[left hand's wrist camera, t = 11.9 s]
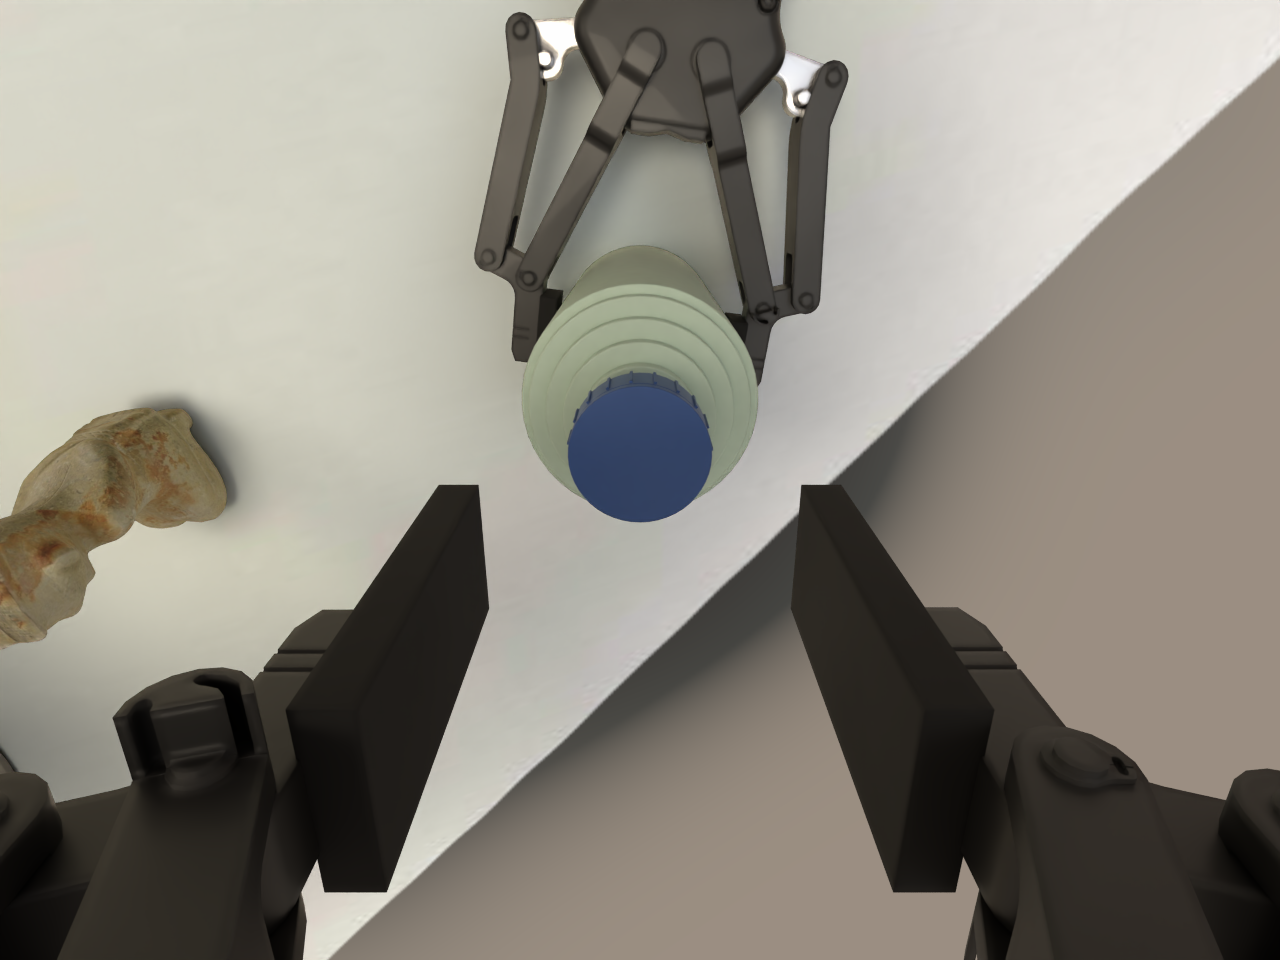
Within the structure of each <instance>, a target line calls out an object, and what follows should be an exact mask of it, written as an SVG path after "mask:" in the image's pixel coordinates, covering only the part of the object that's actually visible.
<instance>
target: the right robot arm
mask: <svg viewBox="0 0 1280 960" xmlns="http://www.w3.org/2000/svg"><path fill="white" fill-rule="evenodd" d="M780 6H781V0H584V1H583V3H582V4H581V6H580V7H579V9H578V11H577V13H576V16H575V17H572V18H557V19H542V20H533V19H532V18H531V17H530V16H529V15H527V14H526V13H521V12H518V13H515V14H513V15H512V16H510V17H509V18H508V21H507V23H506V41H507V50H508V59H509V69H510V78H511V81H510V86H509V90H508V95H507V100H506V105H505V109H504V114H503V119H502V124H501V129H500V133H499V138H498V143H497V148H496V152H495V157H494V162H493V167H492V172H491V176H490V181H489V186H488V191H487V195H486V200H485V205H484V210H483V215H482V219H481V224H480V229H479V234H478V239H477V243H476V248H475V253H474V259H475V262H476V264H477V265H478V266H479V268H480V269H482V270H484V271H490V272H492V273H494V274H496V275H498V276H500V277H502V278H504V279H505V280H507V281H508V282H509V283H510V284H511V285H512V287H513V289H514V292H515V307H514V321H513V337H512V352H513V356H514V359H515V361H521V362H528V360H529V357H530V355H531V353H532V351H533V348H534V346H535V344H536V343H537V341H538V339H539V338H540V336H541V335H542V333H543V331H544V330H545V329H546V327H547V326H548V324H549V323H550V321H551V320H552V318H553V317H554V315H555V314H556V312H557V311H558V310H559V308H560V307H561V305H562V297H563V291H561V290H554V289H547V280H548V279H549V276H550V274H551V272H552V270H553V268H554V266H555V264H556V262H557V261H558V259H559V257H560V255H561V253H562V251H563V249H564V247H565V245H566V243H567V242H568V240H569V238H570V236H571V234H572V232H573V230H574V228H575V226H576V224H577V223H578V221H579V219H580V217H581V215H582V213H583V211H584V209H585V207H586V205H587V204H588V202H589V200H590V198H591V196H592V194H593V192H594V190H595V188H596V186H597V184H598V183H599V181H600V179H601V177H602V175H603V173H604V171H605V169H606V167H607V165H608V164H609V162H610V160H611V158H612V156H613V154H614V153H615V151H616V149H617V148H618V146H619V144H620V142H621V140H622V138H623V136H624V134H625V132H626V131H630V132H631V134H636V135H643V136H654V135H661V134H669V135H671V136H673V137H675V138H678V139H680V140H682V141H684V142H691V143H698V144H702V143H703V142H706V146H707V150H708V155H709V159H710V163H711V166H712V169H713V173H714V177H715V182H716V186H717V191H718V195H719V200H720V204H721V209H722V213H723V218H724V222H725V227H726V231H727V236H728V240H729V245H730V249H731V254H732V258H733V263H734V268H735V272H736V277H737V281H738V286H739V290H740V295H741V299H742V304H743V311H742V315H740V314H733V313H725V316H726V317H727V318H728V320H729V321H730V323H731V324H732V326H733V327H734V329H735V330H736V332H737V333H738V335H739V336H740V338H741V340H742V341H743V343H744V344H745V346H746V349H747V351H748V353H749V355H750V358H751V360H752V363H753V367H754V370H755V374H756V380H757V387H758V385H759V384H760V382H761V378H762V373H763V368H764V362H765V357H766V352H767V347H768V342H769V337H770V332H771V329H772V327H773V325H774V323H775V322H776V321H777V320H779V319H780V318H783V317H786V316H790V315H795V314H800V313H802V314H809V313H812V312H813V311H814V310H816V308H817V307H818V306H819V302H820V292H821V275H822V258H823V241H824V224H825V207H826V190H827V173H828V156H829V139H830V126H831V124H832V121H833V118H834V116H835V113H836V111H837V108H838V105H839V103H840V100H841V98H842V95H843V92H844V90H845V87H846V85H847V81H848V70H847V68H846V66H845V65H844V64H843V63H842V62H840V61H836V60H833V61H829V62H827V63H826V64H821V63H819V62H816V61H814V60H811V59H808V58H806V57H803V56H801V55H798V54H796V53H793V52H790V51H788V50H786V45H785V40H784V37H783V33H782V30H781V24H780ZM574 50H580V52H581V54H582V56H583V58H584V60H585V62H586V64H587V66H588V68H589V70H590V72H591V74H592V76H593V78H594V80H595V82H596V84H597V86H598V88H599V90H600V92H601V94H602V96H603V100H602V101H601V103H600V105H599V107H598V109H597V111H596V113H595V115H594V117H593V119H592V121H591V123H590V125H589V128H588V130H587V133H586V135H585V137H584V139H583V141H582V143H581V145H580V147H579V149H578V151H577V153H576V155H575V157H574V159H573V161H572V163H571V165H570V167H569V169H568V171H567V173H566V175H565V177H564V179H563V181H562V183H561V185H560V187H559V189H558V191H557V193H556V195H555V196H554V198H553V200H552V202H551V204H550V206H549V208H548V210H547V212H546V214H545V216H544V218H543V220H542V222H541V224H540V226H539V228H538V230H537V232H536V234H535V236H534V238H533V240H532V242H531V244H530V246H529V248H528V250H527V252H526V253H523V252H521V251H519V250H517V249H515V248H513V246H514V241H515V237H516V232H517V228H518V224H519V219H520V215H521V210H522V206H523V202H524V197H525V193H526V188H527V184H528V179H529V175H530V171H531V166H532V162H533V157H534V153H535V149H536V144H537V140H538V135H539V131H540V127H541V122H542V118H543V113H544V109H545V103H546V97H547V81H554V80H556V79H557V78H559V77H560V75H561V74H562V71H563V67H564V61H565V59H566V57H567V55H568V54H569V53H570V52H572V51H574ZM772 79H774V80H776V81H777V82H778V83H779V84H780V85H781V87H782V90H783V100H782V105H783V109H784V111H785V113H786V114H787V115H789V116H790V117H793V120H792V125H791V130H790V137H789V151H788V176H787V201H786V225H785V250H784V275H783V285H778V286H774V287H773V286H772V281H771V276H770V271H769V266H768V261H767V256H766V251H765V246H764V242H763V237H762V232H761V227H760V222H759V217H758V212H757V207H756V202H755V198H754V193H753V188H752V183H751V178H750V173H749V168H748V163H747V152H746V145H745V140H744V135H743V130H742V125H741V120H740V115H741V114H742V113H743V112H744V111H745V109H746V108H747V107H748V106H749V105H750V104H751V103H752V102H753V101H754V99H755V98H756V97H757V96H758V95H759V94H760V93H761V92H762V91H763V89H764V88H765V87H766V86H767V85H768V84H769V83H770V82H771V80H772Z"/></svg>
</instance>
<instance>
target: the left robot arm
mask: <svg viewBox="0 0 1280 960" xmlns="http://www.w3.org/2000/svg"><path fill="white" fill-rule="evenodd" d="M488 610H489V601H488V589H487V578H486V566H485V555H484V543H483V531H482V520H481V508H480V497H479V485H438V487H437V488H436V490H435V491H434V493H433V494H432V496H431V497H430V499H429V500H428V502H427V503H426V505H425V506H424V507H423V509H422V510H421V512H420V513H419V515H418V516H417V518H416V519H415V521H414V522H413V524H412V525H411V526H410V528H409V529H408V531H407V532H406V534H405V535H404V537H403V538H402V540H401V541H400V543H399V544H398V545H397V547H396V548H395V550H394V551H393V553H392V554H391V556H390V557H389V559H388V560H387V562H386V563H385V565H384V566H383V567H382V569H381V570H380V572H379V573H378V575H377V576H376V578H375V579H374V581H373V582H372V584H371V585H370V586H369V588H368V589H367V591H366V592H365V594H364V595H363V597H362V598H361V600H360V601H359V603H358V604H357V605H356V607H355V608H354V610H322V611H320V612H318V613H317V614H315V615H314V616H312V617H311V618H309V619H308V620H306V621H305V622H303V623H302V624H300V625H299V626H297V627H296V628H295V629H294V630H293V631H292V632H291V634H290V635H289V636H288V637H287V639H286V640H285V641H284V642H283V644H282V645H281V646H280V648H279V649H278V654H274V655H273V656H272V658H271V659H270V660H269V661H268V663H267V664H266V665H265V667H264V671H263V672H260V673H259V674H258V675H257V677H256V678H255V679H254V680H253V681H252V679H251V678H249V677H248V676H247V675H245V674H244V673H243V672H242V671H238V670H233V669H228V668H208V669H197V670H193V671H189V672H186V673H182V674H178V675H174V676H171V677H169V678H167V679H164V680H162V681H160V682H158V683H155V684H153V685H151V686H149V687H146V688H145V689H144V690H142V691H141V692H139V693H138V694H136V695H135V696H134V697H132V698H131V699H129V700H128V701H126V702H125V703H124V705H123V706H122V707H121V708H120V709H119V711H118V712H117V713H116V714H115V716H114V717H113V721H114V724H115V727H116V730H117V733H118V736H119V739H120V743H121V746H122V749H123V752H124V755H125V758H126V761H127V764H128V767H129V771H130V774H131V777H132V780H133V781H132V783H131V786H128V787H124V788H121V789H118V790H113V791H109V792H104V793H100V794H95V795H91V796H86V797H81V798H77V799H72V800H68V801H63V802H59V803H55V802H54V799H53V797H52V794H51V791H50V789H49V786H48V783H47V782H46V781H44V780H43V779H42V778H40V777H39V776H37V775H36V774H31V773H21V772H14V771H13V769H12V768H11V766H10V764H9V763H8V762H7V760H6V759H5V757H4V756H3V755H2V754H1V752H0V960H303V952H304V943H305V933H306V923H307V920H306V913H305V907H304V902H303V897H302V893H301V892H302V889H303V887H304V885H305V883H306V881H307V879H308V877H309V875H310V873H311V871H312V869H313V867H314V865H315V863H316V860H317V859H318V864H319V869H320V873H321V878H322V883H323V887H324V892H387V890H388V887H389V885H390V882H391V879H392V876H393V873H394V871H395V868H396V865H397V862H398V860H399V857H400V854H401V851H402V849H403V846H404V843H405V840H406V837H407V835H408V832H409V829H410V826H411V824H412V821H413V818H414V815H415V813H416V810H417V807H418V804H419V801H420V799H421V796H422V793H423V790H424V788H425V785H426V782H427V779H428V777H429V774H430V771H431V768H432V765H433V763H434V760H435V757H436V754H437V752H438V749H439V746H440V743H441V740H442V738H443V735H444V732H445V729H446V727H447V724H448V721H449V718H450V716H451V713H452V710H453V707H454V704H455V702H456V699H457V696H458V693H459V691H460V688H461V685H462V682H463V680H464V677H465V674H466V671H467V668H468V666H469V663H470V660H471V657H472V655H473V652H474V649H475V646H476V644H477V641H478V638H479V635H480V632H481V630H482V627H483V624H484V621H485V619H486V616H487V613H488ZM791 610H792V613H793V616H794V619H795V621H796V624H797V627H798V630H799V632H800V635H801V638H802V641H803V643H804V646H805V649H806V652H807V654H808V657H809V660H810V663H811V666H812V668H813V671H814V674H815V677H816V680H817V682H818V685H819V688H820V690H821V693H822V696H823V699H824V702H825V704H826V707H827V710H828V713H829V716H830V718H831V721H832V724H833V726H834V729H835V732H836V735H837V738H838V740H839V743H840V746H841V749H842V751H843V754H844V757H845V760H846V763H847V765H848V768H849V771H850V774H851V777H852V779H853V782H854V785H855V788H856V790H857V793H858V796H859V799H860V801H861V804H862V807H863V810H864V813H865V815H866V818H867V821H868V823H869V826H870V829H871V832H872V834H873V837H874V840H875V843H876V846H877V849H878V851H879V854H880V857H881V860H882V862H883V865H884V868H885V871H886V873H887V876H888V879H889V882H890V885H891V887H892V890H893V892H956V887H957V883H958V878H959V873H960V869H961V864H962V859H963V857H964V859H965V861H966V863H967V865H968V867H969V869H970V871H971V873H972V875H973V877H974V879H975V881H976V884H977V886H978V888H979V893H978V897H977V902H976V906H975V910H974V915H973V919H972V923H971V928H970V932H969V936H968V941H967V945H966V950H965V956H964V960H975V958H976V954H977V960H1280V771H1279V770H1272V769H1258V770H1248V771H1245V772H1243V773H1242V774H1241V775H1239V776H1238V777H1237V778H1235V779H1234V781H1233V783H1232V786H1231V789H1230V791H1229V794H1228V797H1227V799H1226V800H1222V799H1218V798H1213V797H1209V796H1204V795H1199V794H1195V793H1190V792H1186V791H1181V790H1177V789H1172V788H1168V787H1163V786H1160V785H1156V784H1153V783H1149V782H1148V780H1147V778H1146V777H1145V775H1144V774H1143V773H1142V771H1141V770H1140V768H1139V767H1138V766H1137V764H1136V763H1135V762H1134V761H1133V760H1132V759H1130V758H1129V757H1128V756H1127V755H1125V754H1124V753H1123V752H1122V751H1120V750H1119V749H1118V748H1117V747H1115V746H1113V745H1111V744H1109V743H1107V742H1105V741H1103V740H1101V739H1099V738H1097V737H1095V736H1093V735H1091V734H1088V733H1084V732H1081V731H1078V730H1074V729H1071V728H1067V727H1066V726H1065V725H1064V724H1063V722H1062V721H1061V720H1060V719H1059V717H1058V716H1057V715H1056V714H1055V712H1054V711H1053V710H1052V709H1051V707H1050V706H1049V705H1048V704H1047V702H1046V701H1045V700H1044V699H1043V697H1042V696H1041V695H1040V694H1039V692H1038V691H1037V690H1036V688H1035V687H1034V686H1033V685H1032V683H1031V682H1030V681H1029V680H1028V678H1027V677H1026V676H1025V675H1024V673H1023V672H1022V671H1021V670H1020V669H1017V665H1016V663H1015V662H1014V661H1013V660H1012V658H1011V657H1010V656H1009V654H1008V653H1007V652H1006V651H1003V647H1002V646H1001V644H1000V643H999V642H998V641H997V639H996V638H995V637H994V636H993V634H992V633H991V632H990V631H989V629H988V628H987V627H986V626H985V625H984V624H982V623H981V622H979V621H978V620H976V619H975V618H973V617H972V616H970V615H969V614H967V613H965V612H964V611H962V610H961V609H959V608H958V607H924V606H923V604H922V603H921V601H920V600H919V598H918V597H917V595H916V594H915V592H914V591H913V589H912V588H911V587H910V585H909V584H908V582H907V581H906V579H905V578H904V576H903V575H902V573H901V572H900V570H899V569H898V567H897V566H896V565H895V563H894V562H893V560H892V559H891V557H890V556H889V554H888V553H887V551H886V550H885V548H884V547H883V546H882V544H881V543H880V541H879V540H878V538H877V537H876V535H875V534H874V532H873V531H872V529H871V528H870V527H869V525H868V524H867V522H866V521H865V519H864V518H863V516H862V515H861V513H860V512H859V510H858V509H857V507H856V506H855V505H854V503H853V502H852V500H851V499H850V497H849V496H848V494H847V493H846V491H845V490H844V488H843V487H842V486H841V485H801V497H800V508H799V520H798V531H797V543H796V555H795V566H794V578H793V589H792V601H791Z"/></svg>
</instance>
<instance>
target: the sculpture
mask: <svg viewBox="0 0 1280 960" xmlns="http://www.w3.org/2000/svg"><path fill="white" fill-rule="evenodd" d="M192 425H193V422H192V419H191V417H190V416H189V414H188V413H187V412H185V411H184V410H182V409H166V410H160V411H157V412H156V411H155V410H153V409H151V408H138V409H131V410H125V411H120V412H115V413H111V414H108V415H104V416H100V417H97V418H95V419H93V420H92V421H91V422H90V423H89V424H86V425H84V426H83V427H82V428H81V429H79V430H77V431H76V432H75V433H74V434H73V436H72V438H70V439H69V440H68V441H67V442H66V443H65V444H64V445H63V446H61V447H59V448H58V449H56V450H54V451H53V452H51V453H50V454H49V455H48V456H47V457H46V458H44V459H43V460H42V461H41V462H40V463H39V464H38V465H37V466H36V468H35V469H34V470H33V471H32V472H31V473H30V474H29V475H28V476H27V477H26V478H25V480H24V481H23V483H22V485H21V487H20V490H19V493H18V496H17V499H16V502H15V505H14V508H13V511H12V515H11V516H8V517H5V518H2V519H0V650H2V649H5V648H7V647H9V646H11V645H13V644H17V643H27V642H35V641H40V640H42V639H44V638H45V637H46V635H47V630H48V629H49V628H51V627H52V626H53V625H54V624H56V623H57V622H58V621H60V620H62V619H65V618H69V617H72V616H74V615H75V614H77V613H78V612H79V611H80V609H81V607H82V604H83V599H84V596H85V591H86V586H87V584H88V583H89V582H90V581H91V580H92V579H93V577H94V575H95V570H94V568H93V566H92V564H91V562H90V561H89V559H88V552H89V551H91V550H92V549H94V548H96V547H98V546H100V545H103V544H106V543H109V542H112V541H115V540H117V539H119V538H120V537H122V536H123V535H124V534H125V533H127V532H128V530H129V529H130V528H131V526H132V525H133V523H134V521H137V522H139V523H141V524H142V525H145V526H148V527H152V528H169V527H175V526H179V525H181V524H183V523H184V522H186V521H194V522H204V521H208V520H212V519H215V518H217V517H218V516H219V515H220V514H221V513H222V511H223V510H224V508H225V505H226V499H227V493H226V488H225V485H224V482H223V479H222V477H221V476H220V474H219V472H218V470H217V468H216V467H215V465H214V464H213V462H212V461H211V459H210V458H209V457H208V455H207V454H206V453H205V452H204V451H203V450H202V448H201V447H200V446H199V444H198V443H197V442H196V440H195V439H194V438H193V436H192V434H191V432H190V428H191V427H192Z"/></svg>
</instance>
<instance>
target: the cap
mask: <svg viewBox="0 0 1280 960" xmlns="http://www.w3.org/2000/svg"><path fill="white" fill-rule="evenodd" d="M573 423H574V425H573V428H572V429H571V430H570V434H569V437H568V440H567V445H568V465H569V469H570V473H571V476H572V478H573V481H574V483H575V485H576V486H577V488H578V490H579V491H580V493H581V494H582V495H583V497H584V498H585V499H586V500H587V501H588V502H589V503H590V504H591V505H593V506H594V507H595V508H597V509H598V510H600V511H601V512H603V513H605V514H607V515H609V516H611V517H613V518H617V519H620V520H624V521H630V522H650V521H656V520H660V519H663V518H666V517H669V516H671V515H673V514H675V513H677V512H679V511H680V510H682V509H683V508H685V507H686V506H687V505H688V504H690V503H691V502H692V501H693V500H694V499H695V498H696V496H697V495H698V494H699V492H700V491H701V490H702V488H703V486H704V484H705V483H706V480H707V478H708V475H709V472H710V468H711V463H712V451H713V446H712V442H711V438H710V435H709V432H708V428H709V424H708V421H707V417H706V414H703V413H702V411H701V409H700V407H699V405H698V403H697V401H696V398H695V396H694V395H691V394H690V393H689V392H688V391H687V390H685V389H684V388H683V387H682V386H681V385H679V384H678V381H677V380H675V382H674V381H672V380H670V379H668V378H666V377H663V376H660V375H657V374H656V372H653V374H651V373H640V372H639V373H633V371H630V373H629V374H624V375H620V376H617V377H614V378H612V379H611V378H610V377H609V378H607V381H606V382H604V383H602V384H601V385H599V386H598V387H597V388H596V389H594V390H593V391H591V390H590V391H589V393H588V396H587V398H586V399H585V400H584V402H583V403H582V405H581V406H580V408H579V409H578V408H577V409H576V412H575V416H574V419H573Z"/></svg>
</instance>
